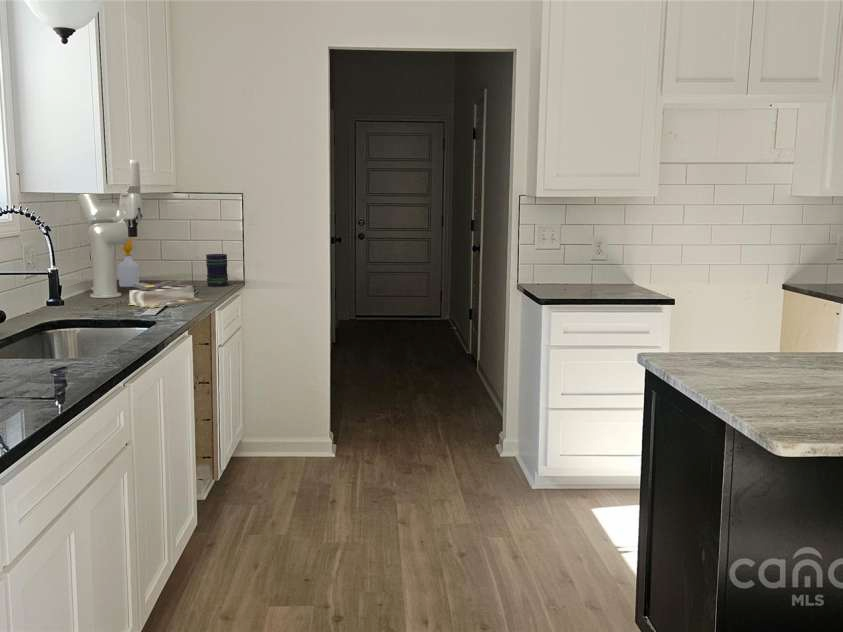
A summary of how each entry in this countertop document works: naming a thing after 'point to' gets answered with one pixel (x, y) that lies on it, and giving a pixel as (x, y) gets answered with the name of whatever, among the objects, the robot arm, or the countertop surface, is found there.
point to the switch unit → (163, 296)
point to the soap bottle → (128, 268)
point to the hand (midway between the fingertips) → (132, 236)
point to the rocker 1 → (144, 286)
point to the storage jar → (217, 270)
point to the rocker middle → (163, 284)
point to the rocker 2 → (180, 282)
